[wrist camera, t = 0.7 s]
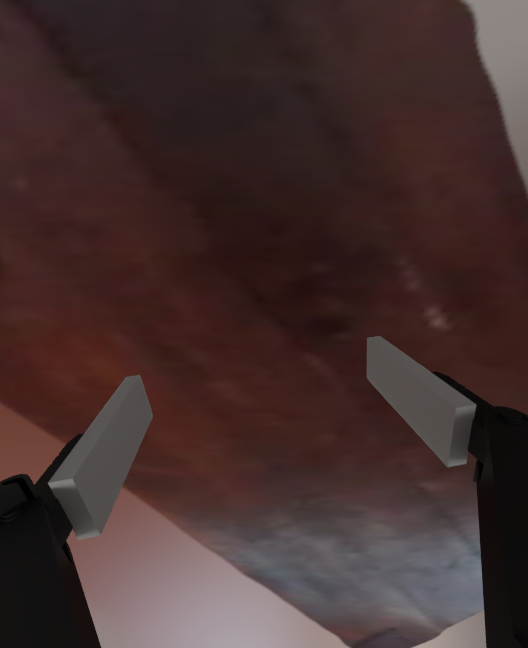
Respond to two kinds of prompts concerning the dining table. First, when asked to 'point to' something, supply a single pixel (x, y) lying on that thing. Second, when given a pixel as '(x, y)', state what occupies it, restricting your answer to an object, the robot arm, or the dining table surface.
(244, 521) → the dining table surface
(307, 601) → the dining table surface
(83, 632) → the robot arm
